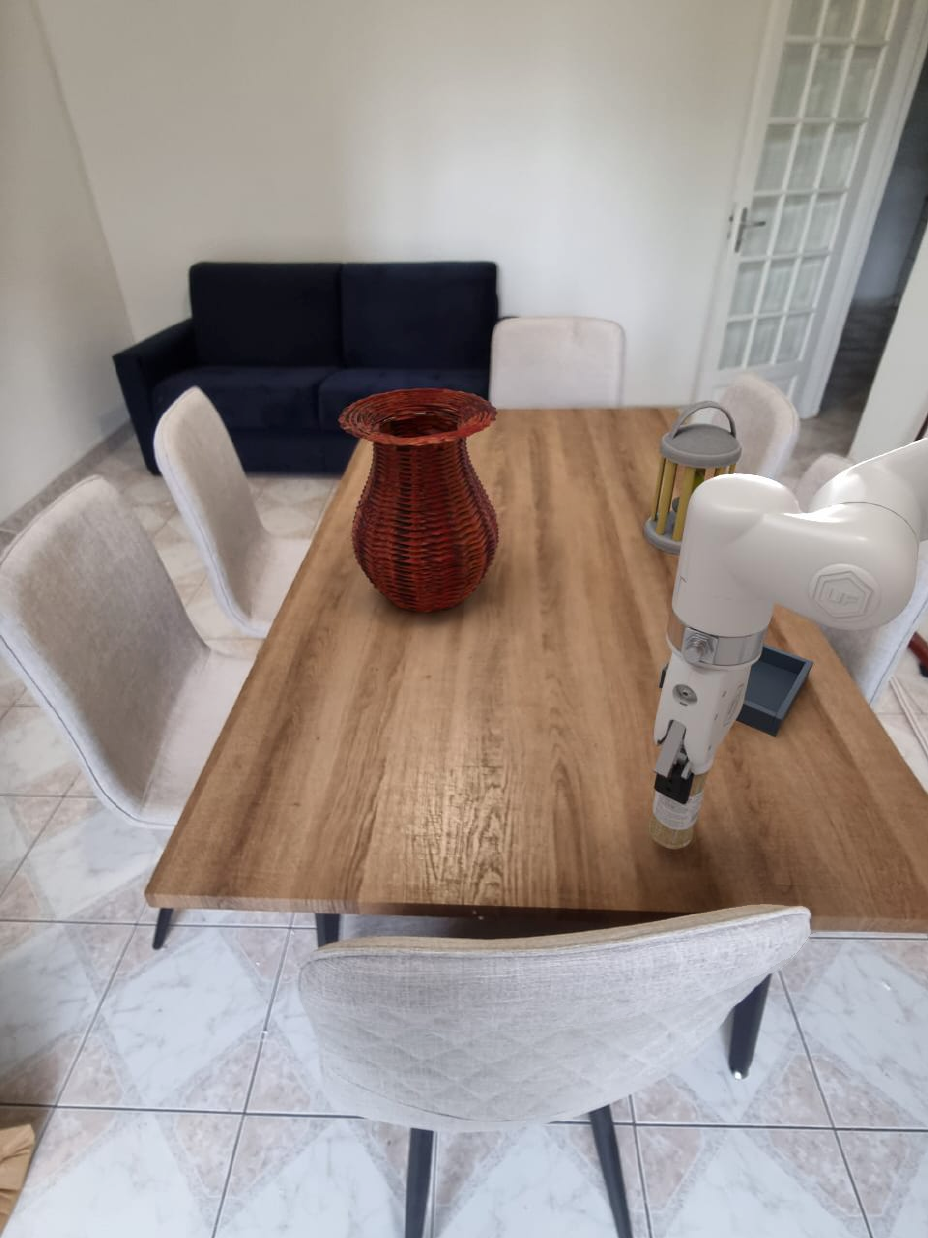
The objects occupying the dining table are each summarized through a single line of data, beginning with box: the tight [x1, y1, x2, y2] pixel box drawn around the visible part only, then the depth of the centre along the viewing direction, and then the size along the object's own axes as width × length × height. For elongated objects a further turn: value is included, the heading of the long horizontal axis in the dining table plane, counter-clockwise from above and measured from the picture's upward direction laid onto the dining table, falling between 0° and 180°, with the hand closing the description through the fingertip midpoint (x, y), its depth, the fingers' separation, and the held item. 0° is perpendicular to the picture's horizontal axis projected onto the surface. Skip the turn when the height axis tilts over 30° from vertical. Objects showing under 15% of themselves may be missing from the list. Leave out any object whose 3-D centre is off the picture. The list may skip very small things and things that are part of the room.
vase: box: [337, 387, 500, 613], centre depth 104 cm, size 23×24×30 cm
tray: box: [659, 643, 814, 737], centre depth 92 cm, size 16×14×3 cm
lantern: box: [643, 399, 743, 556], centre depth 117 cm, size 14×14×25 cm
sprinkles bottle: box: [648, 752, 716, 850], centre depth 67 cm, size 5×5×13 cm
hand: (682, 776), depth 65 cm, fingers closed on sprinkles bottle, 4 cm apart
